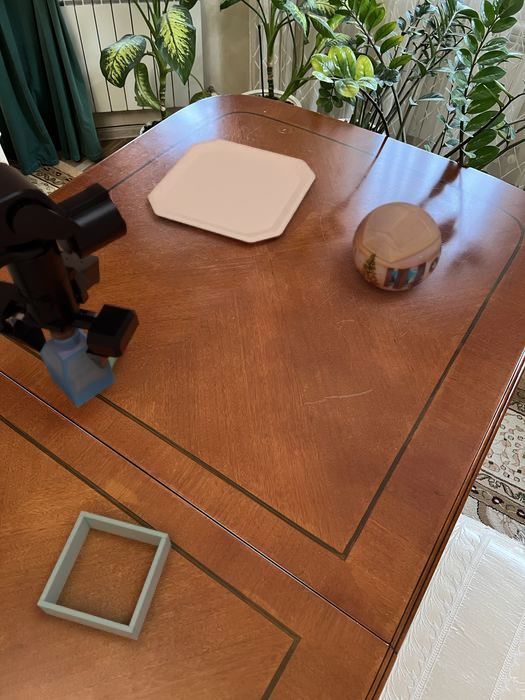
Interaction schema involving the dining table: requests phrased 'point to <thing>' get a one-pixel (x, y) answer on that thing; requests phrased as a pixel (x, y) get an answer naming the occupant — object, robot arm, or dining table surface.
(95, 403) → the dining table surface
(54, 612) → the square frame
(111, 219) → the robot arm
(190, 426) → the dining table surface
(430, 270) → the ornament
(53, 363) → the perfume bottle
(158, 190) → the plate
